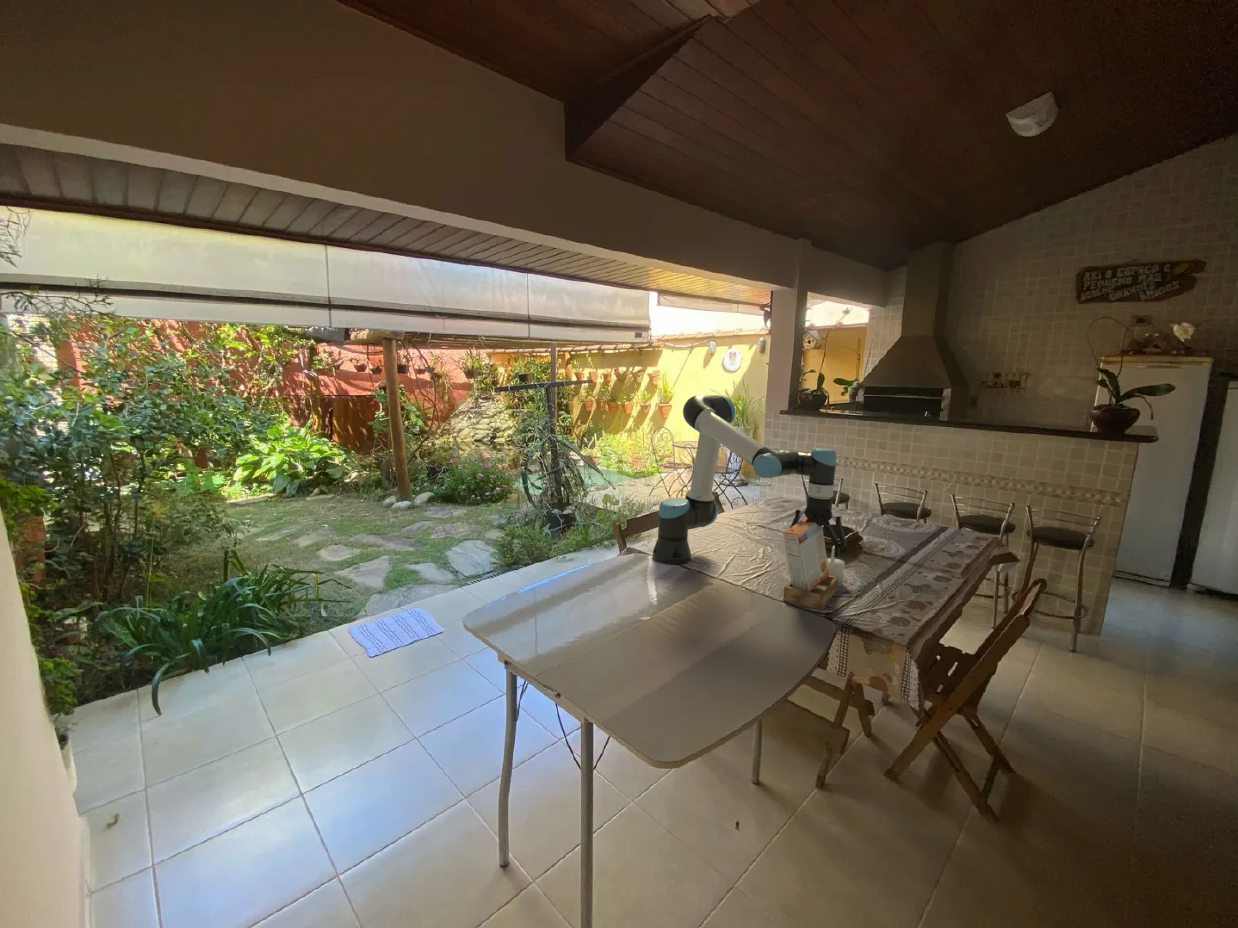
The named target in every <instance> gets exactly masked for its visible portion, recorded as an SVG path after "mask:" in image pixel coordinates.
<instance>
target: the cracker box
mask: <svg viewBox="0 0 1238 928" xmlns="http://www.w3.org/2000/svg"><path fill="white" fill-rule="evenodd" d="M806 520H807V517H806V516H805V517H804V518H802V519H801V520H799V521H798V523H797V524H795V525H794V526H792V527H791V528H790V527H789V528H788V529H786V530H785V531H783V532H782V534H783V540H784V546H785V552H786V557H787V564H788V565H787V566H788V570H789V577H790V581H791V583H792V588H796V589H800V590H804V591H808V592H811V591H812V590H813V589H814V588H815V587H816V586H817V585H819V584H820V583H821V582H822V581H823V580H824V579H825V578H827V577H828V576H829V570H828V563H827V559H828V557H827V551H826V543H825V537H824V536H825V535H824V527H823V526H819V525H817V524H816V522H810V523H809V522H805V521H806Z"/></svg>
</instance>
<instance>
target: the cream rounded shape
mask: <svg viewBox="0 0 1238 928" xmlns="http://www.w3.org/2000/svg"><path fill="white" fill-rule="evenodd" d="M827 563H828V570H829V575H830V576H834V577H838V583H837V587H842V586H843V582H844V581H843V580H844V574H845V573H844V572H845V571H844V570H845V561H844V560H842V559H839V558H835V565H834V566H833V567H830V563H831V557H829V558H828V557H827Z"/></svg>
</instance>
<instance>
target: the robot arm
mask: <svg viewBox="0 0 1238 928" xmlns="http://www.w3.org/2000/svg"><path fill="white" fill-rule="evenodd" d="M682 415H683V419H684V421H685V423H687V424H688V425H689V427H690V428H693V430H695V431H697V432H698V442H697V446H696V453H695V459H694V466H693V472H692V478H691V485H690V489H689V490H688V491H687V492H686V493H685V498H684V497H670V498H666V499H663V500H662V501H661V502H660V503H659V506H658V507H659V508H658V520H657V521H658V522H657V529H658V530H657V539H656V542H655V545H654V546H653V550H652V559H653V560H654V561H656V562H659V563H662V564H666V565H684V564H687V563H689V562H691V560H692V552H691V548H690V544H689V542H688V534H689V530H695V529H698V528H704V527H707V526H710V525H711V524H713V523H714V522H715V521H716V520H717V517H718V515H719V507H718V506H717V502H716V501H715V496H714V494H713V493H712V492H713V488H714V487H713V486H714V480H715V475H716V470H717V464H718V458H719V453H720V452H719V451H720V446H721V445H722V446H723V447H725V448H726V449H728V451H730V452H732V453H733V454H735V455H736V456H737V457H739V458H740V459H742V460H744V462H746V463H747V464H749V465H751V466H752V469H753V471H754V473H755V474H756V476H758V477H759V478H761V479H773V478H777V477H784V476H789V475H790V476H791V475H800V476H805V477H808V485H807V494H808V496H807V497H806V498H807V499H806V508H805V509H801V508H797V509H796V510H795V515H794V518H793V520H792V523H791V524H790V527H789V528H791V527H792V526H794V525H795V524H797V523H798V522H799V521H800V519H801V517H802V516H803V515H804V516H805V517H807V520H806V521H805V522H809V523H810V522H816V524H817V525H819V526H822V527H823V529H825V531H826V532H827V534H828V536H829V539H830V540H831V542H832V544H833V546H832V547H831V554H830V555H831V556H830V558H831V563H830V567H833V566H834V565H835V559H836V558H838V557H839V556H840V549H841V548H845V547H846V545H848V544H847V539H846V535H845V531H844V528H843V523H842V519H843V516H842V515H841V514H838V515H837V514H833V512H832V510H833V508H832V507H833V498H832V497H833V496H834V490H835V488H834V487H835V475H836V468H837V467H836V466H837V464H838V463H837V451H836V450H835V449H834V448H833V449H832V448H827V447H826V448H823V447H815V448H812V449H811V452H804V451H803V452H801V451H797V450H796V451H795V450H791V449H786V450H785V449H781V450H778V452H774V451H773V450H772V449H770V448H768V447H767V446H765V445H763V444H762V443H760V442H759V441H758V440H756V439H754V438H753V437H751V436H750V435H748V434H747V433H745V432H744V431H743V430H741V429H739V428H737V427H736V426H734V425H733V424H732V423H733V422H734V421H735V418H736V407H735V405H734V403H733V402H732V400H731V399H730V398H729V397H727V396H725V395H720V394H719V395H717V394H711V395H710V394H705V395H704V394H698V395H694V396H691V397H690V398H688V399H687V400H686V401H685V403H684V405H683V408H682ZM832 519H833V522H834V523H835V527H836V531H837V535H838V536H837V535H836V533H835V531H834V529H833V528H832V525H831V523H830V520H832Z"/></svg>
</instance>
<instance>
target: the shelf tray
mask: <svg viewBox="0 0 1238 928" xmlns="http://www.w3.org/2000/svg"><path fill="white" fill-rule="evenodd" d="M837 583H838V577H834V576H830V575H829V576H828V577H827V578H825V579H824V580H823V581H822V582H821V583H820V584H819V585H817V586H816V587H815V588H814V589H813V590H812V591H811V592H808V591H804V590H800V589H796V588H792V583H791V580H790V581H788V582H787V583H786V584H785V586H784V588H783V598H782V599H783V601H787V602H789V603H794V604H796V605H801V606H804V607H807V608H811V609H815V610H819V611H824V610H825V607H826V606H827V605H828V603H829V602H830V601H831V599H832V597H833V596H834V595H835V594H836V592H837V591H838V586H837Z"/></svg>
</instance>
